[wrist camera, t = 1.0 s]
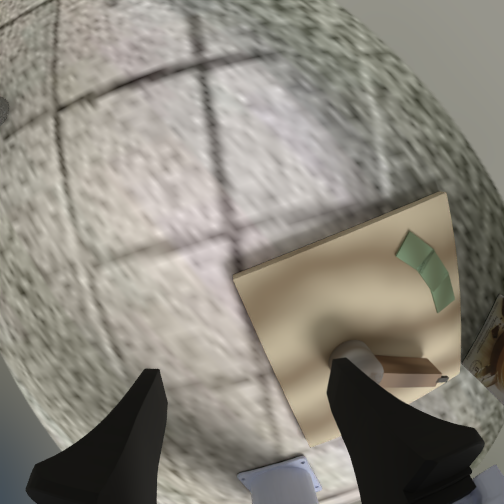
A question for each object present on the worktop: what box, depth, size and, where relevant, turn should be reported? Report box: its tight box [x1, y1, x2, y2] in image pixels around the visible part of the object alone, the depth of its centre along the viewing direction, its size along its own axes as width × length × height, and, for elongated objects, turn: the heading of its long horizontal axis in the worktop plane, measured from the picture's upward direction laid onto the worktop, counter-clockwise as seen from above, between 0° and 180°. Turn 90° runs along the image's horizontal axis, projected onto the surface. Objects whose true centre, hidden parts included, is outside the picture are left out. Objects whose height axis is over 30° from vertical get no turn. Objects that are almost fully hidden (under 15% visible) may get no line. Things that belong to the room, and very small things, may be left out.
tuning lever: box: [328, 340, 449, 388], centre depth 22 cm, size 12×4×3 cm, turn 76°
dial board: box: [233, 191, 461, 448], centre depth 24 cm, size 20×18×1 cm
